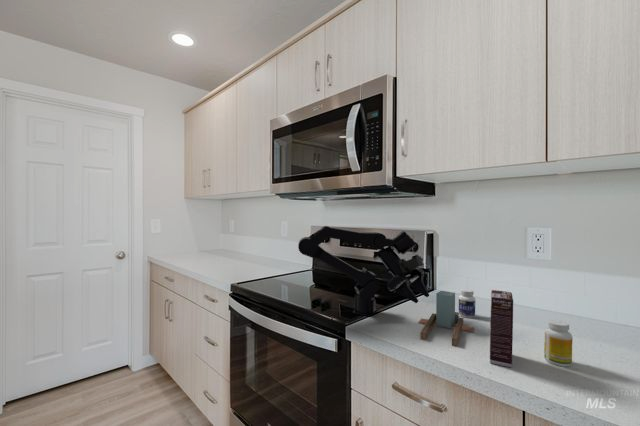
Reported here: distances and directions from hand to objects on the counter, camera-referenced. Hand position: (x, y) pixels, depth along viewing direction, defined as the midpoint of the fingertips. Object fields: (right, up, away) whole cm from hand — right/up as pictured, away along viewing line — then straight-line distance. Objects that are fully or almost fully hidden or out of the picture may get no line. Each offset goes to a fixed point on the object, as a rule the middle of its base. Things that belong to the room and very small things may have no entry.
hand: (423, 299), depth 104 cm
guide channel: (+4, -7, -8) cm, 12 cm away
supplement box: (+10, -7, -27) cm, 30 cm away
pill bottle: (+17, -7, +5) cm, 19 cm away
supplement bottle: (+23, -8, -28) cm, 37 cm away
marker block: (+6, -7, -5) cm, 10 cm away
